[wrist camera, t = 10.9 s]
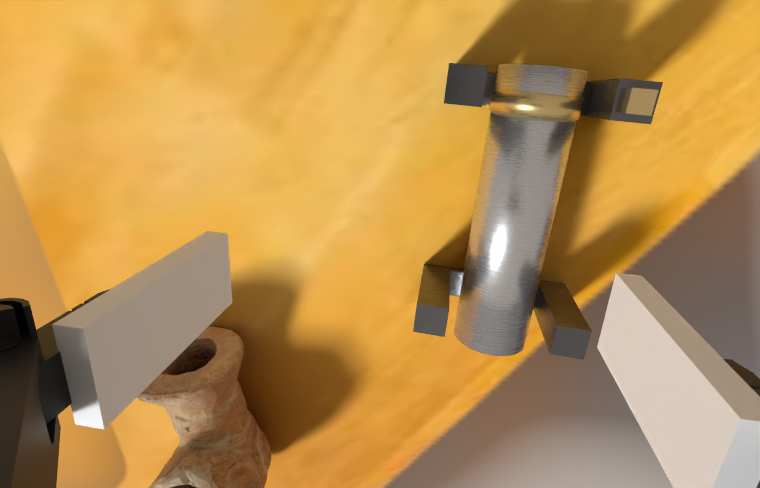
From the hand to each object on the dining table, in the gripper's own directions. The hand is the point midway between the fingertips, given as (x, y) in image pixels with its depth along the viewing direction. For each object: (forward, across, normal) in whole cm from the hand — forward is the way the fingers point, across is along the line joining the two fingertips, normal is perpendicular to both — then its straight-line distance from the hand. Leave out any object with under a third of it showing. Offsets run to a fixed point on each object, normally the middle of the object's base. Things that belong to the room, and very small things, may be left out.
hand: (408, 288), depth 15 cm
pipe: (+18, -16, -22) cm, 33 cm away
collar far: (+18, +5, -8) cm, 20 cm away
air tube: (+18, +6, -1) cm, 18 cm away
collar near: (+18, +6, +6) cm, 20 cm away
